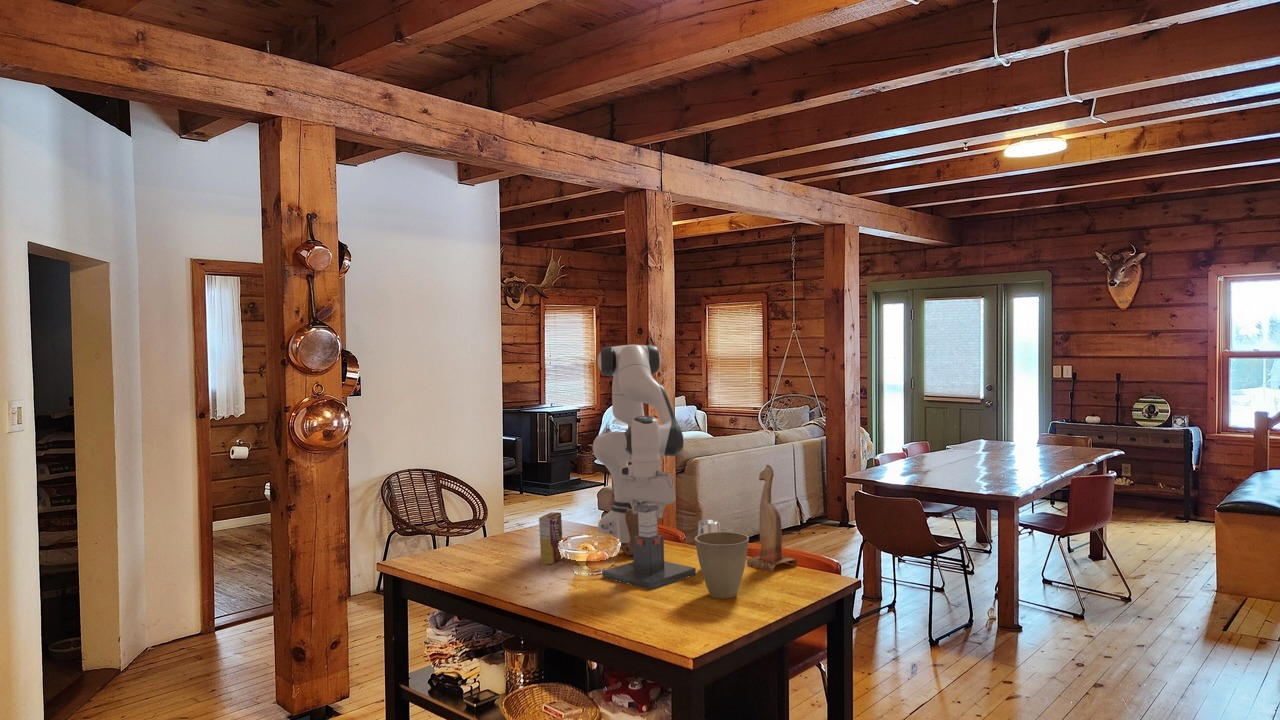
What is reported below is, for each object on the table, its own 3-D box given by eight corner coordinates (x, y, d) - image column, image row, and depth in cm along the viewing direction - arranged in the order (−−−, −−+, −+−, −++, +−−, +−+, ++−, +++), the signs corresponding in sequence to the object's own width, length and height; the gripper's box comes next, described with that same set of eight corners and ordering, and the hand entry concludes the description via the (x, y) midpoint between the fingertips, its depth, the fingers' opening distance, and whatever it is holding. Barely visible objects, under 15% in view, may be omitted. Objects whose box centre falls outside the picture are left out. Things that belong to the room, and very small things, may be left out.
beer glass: (713, 574, 249) (712, 524, 249) (694, 570, 253) (693, 522, 253) (725, 568, 254) (724, 520, 254) (706, 565, 259) (705, 518, 258)
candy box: (552, 557, 274) (550, 511, 274) (563, 558, 272) (562, 512, 272) (539, 564, 265) (538, 517, 265) (551, 565, 264) (550, 517, 264)
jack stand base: (602, 577, 248) (601, 537, 248) (647, 563, 262) (646, 526, 262) (650, 589, 234) (649, 547, 234) (695, 574, 249) (694, 535, 248)
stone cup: (643, 544, 288) (642, 502, 288) (667, 550, 280) (666, 506, 279) (611, 553, 278) (610, 508, 277) (635, 559, 269) (634, 513, 269)
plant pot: (687, 591, 232) (686, 535, 232) (734, 584, 237) (733, 529, 237) (710, 606, 218) (709, 546, 218) (759, 599, 223) (758, 540, 223)
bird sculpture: (769, 559, 265) (764, 461, 265) (798, 565, 256) (793, 463, 256) (746, 566, 258) (741, 465, 258) (774, 572, 249) (769, 467, 249)
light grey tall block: (635, 569, 247) (634, 505, 247) (651, 564, 252) (649, 502, 252) (646, 572, 244) (644, 507, 244) (662, 567, 249) (660, 503, 249)
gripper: (679, 471, 243) (680, 518, 243) (630, 466, 257) (631, 510, 257) (665, 474, 238) (666, 521, 238) (615, 468, 253) (616, 513, 253)
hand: (647, 515), depth 248 cm, fingers open, 8 cm apart
